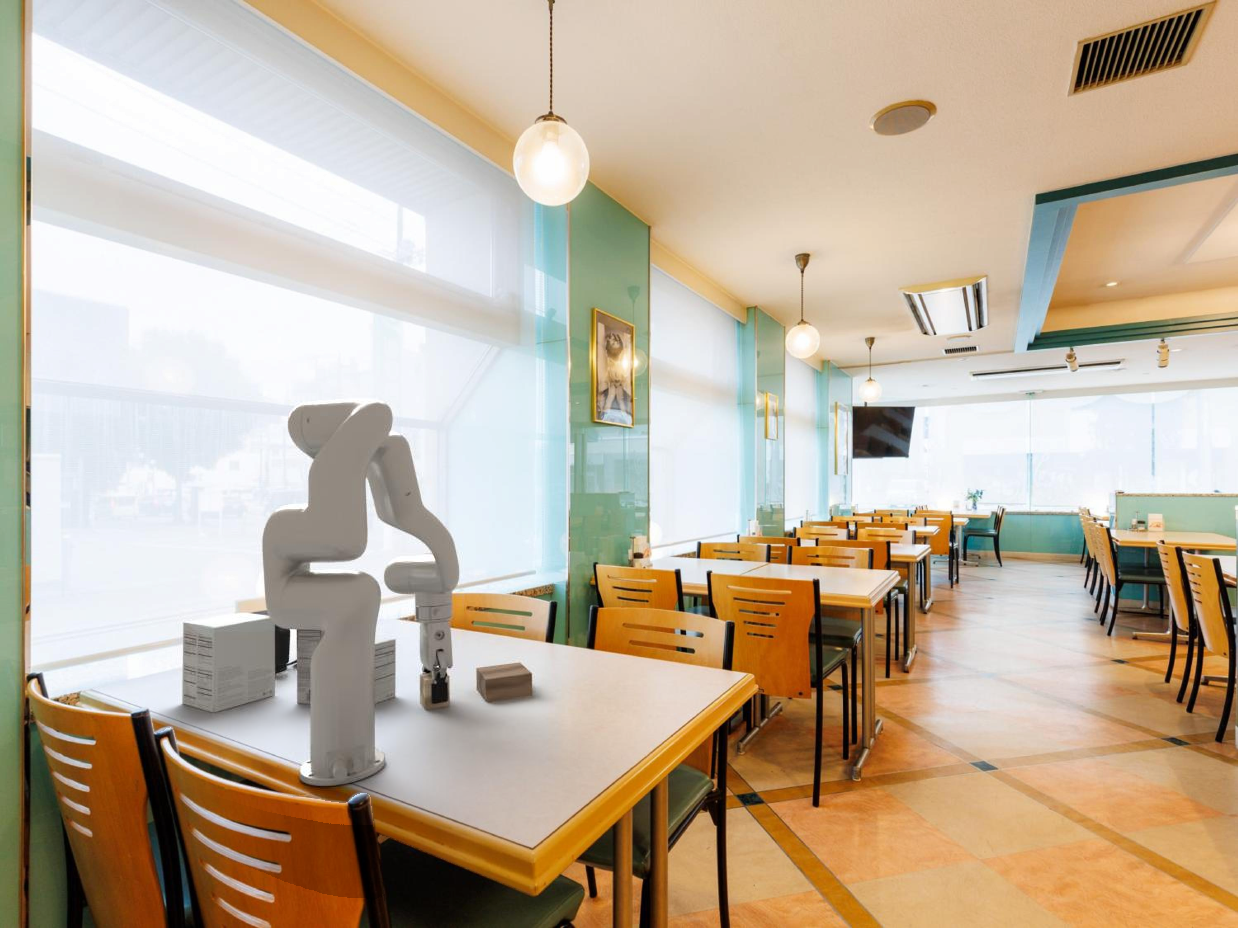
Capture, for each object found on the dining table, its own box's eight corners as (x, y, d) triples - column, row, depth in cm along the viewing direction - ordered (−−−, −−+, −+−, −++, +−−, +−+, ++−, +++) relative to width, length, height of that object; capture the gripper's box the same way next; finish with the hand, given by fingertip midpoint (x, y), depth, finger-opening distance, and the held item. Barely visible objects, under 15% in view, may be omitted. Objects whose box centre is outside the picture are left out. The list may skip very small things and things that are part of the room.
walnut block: (532, 696, 139) (531, 673, 139) (486, 703, 135) (485, 679, 135) (520, 684, 148) (519, 662, 148) (476, 690, 144) (476, 667, 144)
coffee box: (323, 690, 146) (323, 619, 146) (349, 691, 144) (348, 619, 145) (295, 703, 137) (295, 627, 137) (322, 705, 135) (322, 628, 136)
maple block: (449, 705, 133) (449, 676, 134) (425, 710, 131) (424, 680, 131) (443, 699, 138) (443, 670, 138) (420, 703, 135) (419, 674, 136)
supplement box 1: (243, 687, 150) (243, 611, 150) (276, 695, 143) (276, 615, 144) (180, 703, 138) (181, 621, 139) (213, 713, 132) (213, 627, 132)
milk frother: (236, 674, 161) (236, 614, 162) (286, 658, 176) (286, 603, 177) (282, 678, 157) (282, 616, 157) (329, 661, 172) (329, 605, 172)
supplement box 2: (345, 701, 137) (345, 642, 138) (373, 692, 144) (372, 634, 144) (369, 706, 134) (369, 645, 134) (397, 696, 140) (396, 637, 141)
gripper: (462, 616, 129) (463, 705, 129) (442, 604, 145) (443, 683, 144) (424, 621, 126) (425, 712, 125) (407, 608, 141) (408, 688, 140)
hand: (434, 696), depth 134 cm, fingers open, 8 cm apart
